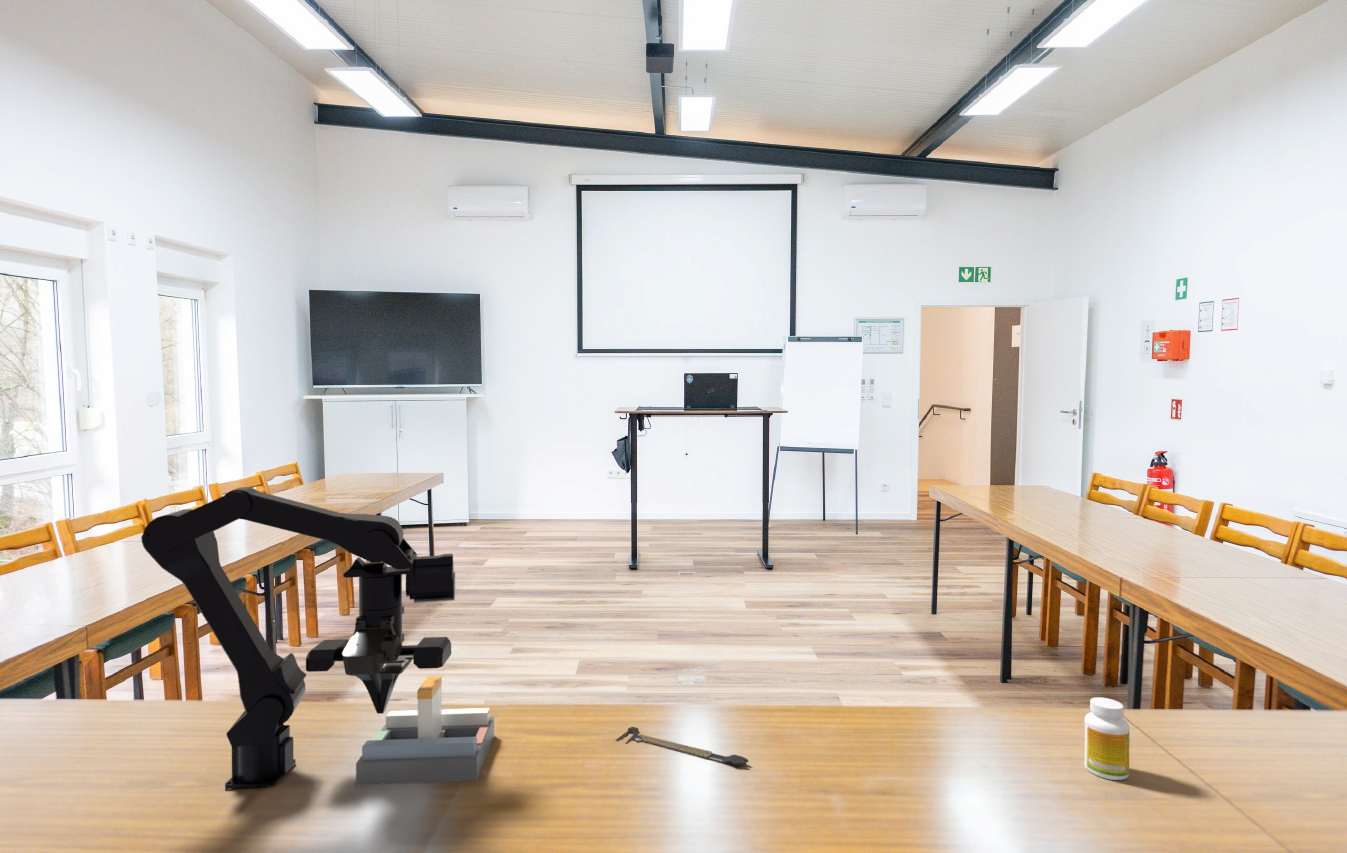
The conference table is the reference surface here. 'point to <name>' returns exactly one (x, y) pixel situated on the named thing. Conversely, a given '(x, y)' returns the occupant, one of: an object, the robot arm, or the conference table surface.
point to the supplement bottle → (1106, 740)
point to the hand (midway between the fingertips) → (381, 712)
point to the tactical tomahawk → (683, 748)
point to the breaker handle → (430, 708)
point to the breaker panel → (426, 764)
